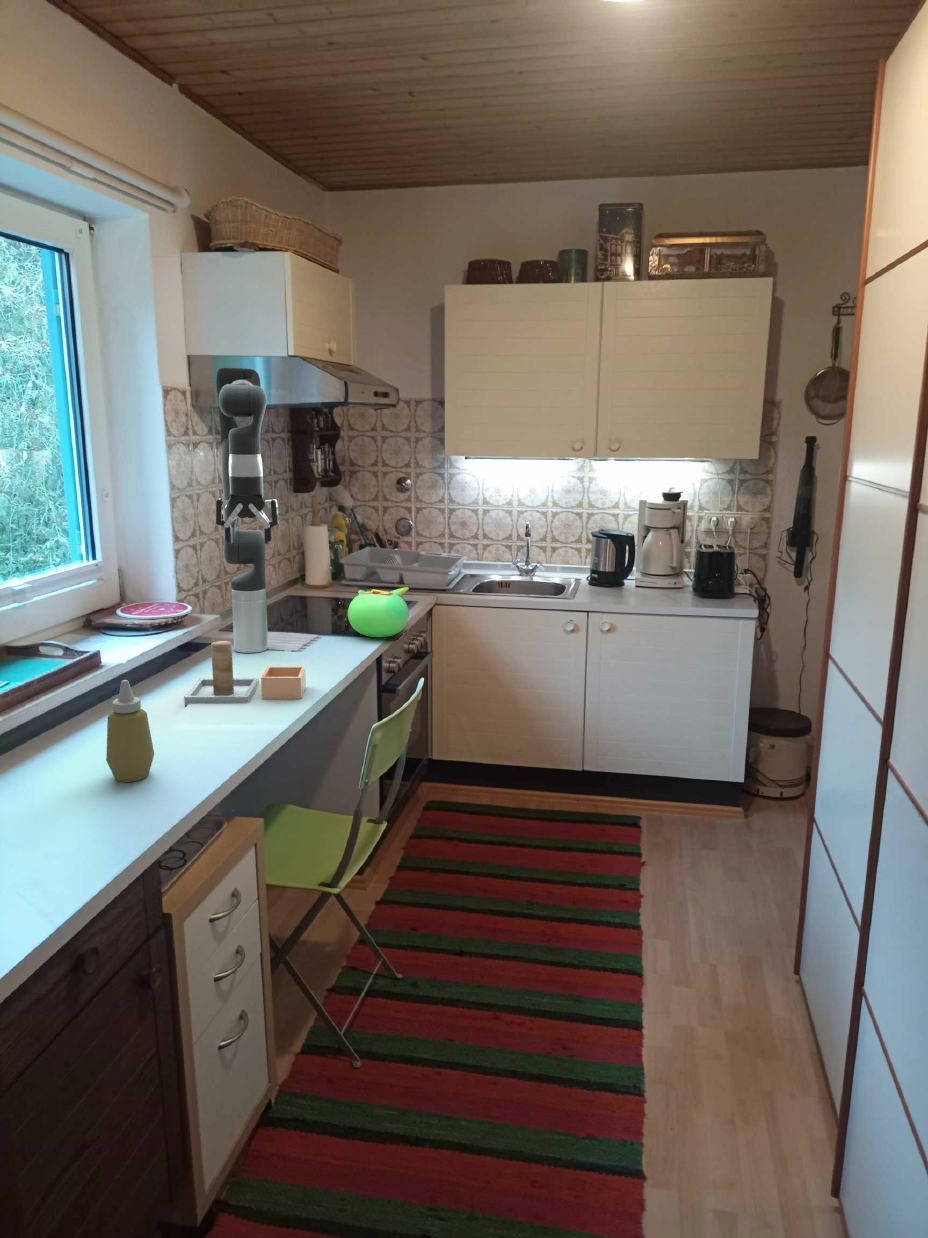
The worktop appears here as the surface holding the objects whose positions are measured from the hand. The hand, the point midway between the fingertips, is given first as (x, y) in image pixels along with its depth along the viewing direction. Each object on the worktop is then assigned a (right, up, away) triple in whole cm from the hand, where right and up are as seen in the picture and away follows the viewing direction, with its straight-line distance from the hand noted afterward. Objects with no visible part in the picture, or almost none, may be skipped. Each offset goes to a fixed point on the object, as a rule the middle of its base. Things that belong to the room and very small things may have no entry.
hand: (248, 543), depth 204 cm
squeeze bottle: (-9, -46, -48) cm, 68 cm away
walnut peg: (-5, -35, -4) cm, 36 cm away
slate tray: (-5, -36, -4) cm, 36 cm away
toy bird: (+26, -23, +53) cm, 64 cm away
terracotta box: (+9, -36, -3) cm, 37 cm away
